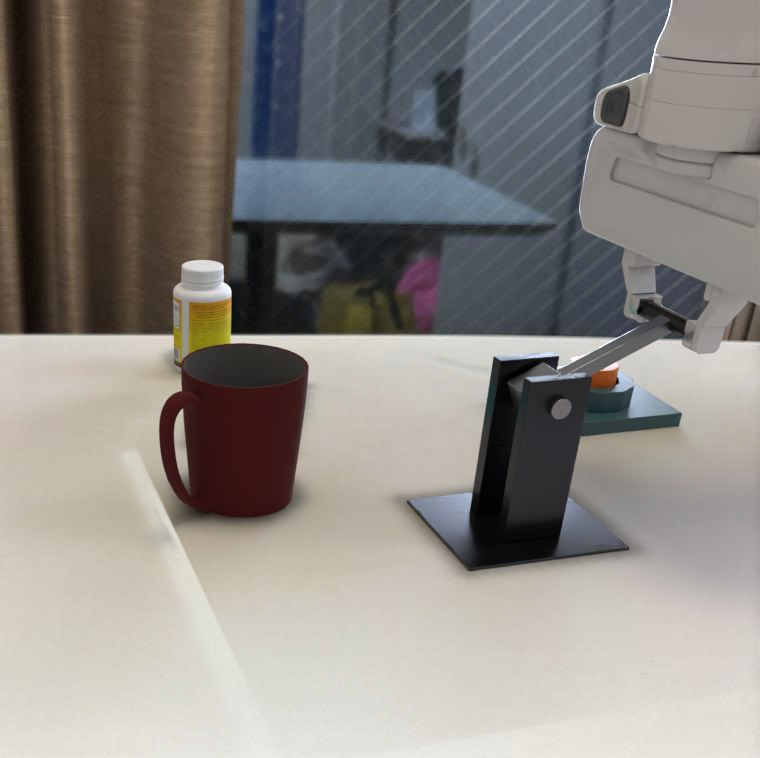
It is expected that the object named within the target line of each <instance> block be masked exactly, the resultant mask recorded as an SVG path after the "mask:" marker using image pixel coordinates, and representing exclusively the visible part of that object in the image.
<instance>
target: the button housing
mask: <svg viewBox="0 0 760 758" xmlns="http://www.w3.org/2000/svg"><path fill="white" fill-rule="evenodd" d="M566 365H567V364H563V365H560V366H558V367H557V370H558V369H560V368H562V367H564V366H566ZM682 415H683V412H681V411H679V410H677V409H676V408H675V407H673V406H672V405H670V404H668V403H666V402H665V401H663V400H661V399H660V398H658V397H656V396H655V395H653V394H651V393H650V392H648V391H647V390H644V388H641V387H640V386H638V385H637V384H635V383H634V379H633V378H632V377H630V376H628V375H627V374H625V373H624V372H622V371H620V370H618V374H617V379H616V383H615V386H614V387H608V388H594V387H591V388H590V393H589V398H588V403H587V408H586V412H585V417H584V422H583V427H582V432H581V437H587V436H598V435H606V434H607V435H608V434H616V433H617V434H618V433H627V432H637V431H646V430H656V429H666V428H674V427H680V423H681V419H682Z"/></svg>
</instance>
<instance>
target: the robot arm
mask: <svg viewBox="0 0 760 758" xmlns="http://www.w3.org/2000/svg"><path fill="white" fill-rule="evenodd" d="M664 24H665V25H664V27H663V29H662V31H661V33H660V35H659V37H658V39H657V41H656V44H655V47H654V51H653V56H652V61H651V65H650V72H645V73H641V74H639V75H637V76H635V77H632V78H630V79H627V80H625V81H621V82H619V83H615V84H613V85H610V86H607V87H605V88H602V89H601V90H600V91H599V92H598V93H597V95H596V97H595V98H596V99H595V101H594V107H593V120H594V123H596V124H597V125H598V126H602V127H600V128H598V130H597V131H596V132H595V133H594V136H593V137H592V139H591V142H590V145H589V149H588V153H587V157H586V162H585V167H584V172H583V178H582V184H581V191H580V198H579V208H578V209H579V217H580V221H581V226H582V228H583V231H585V232H586V233H588V234H591V235H593V236H595V237H598V238H600V239H603V240H605V241H608V242H610V243H612V244H615V245H616V246H619V247H622V248H624V249H623V255H622V258H621V267H622V273H623V278H624V283H625V290H626V292H627V293H626V297H625V303H624V307H623V315H624V317H626V318H628V319H630V320H633V321H635V322H637V323H639V324H644V323H646V322H648V321H649V320H647V319H645V318H643V317H642V315H641V309H642V307H643V306H644V304H646V303H647V302H650V301H653V302H655V303H657V304H659V305H661V306H662V302H663V298H664V296H663V295H661V294H659V293H657V282H656V281H657V280H656V267H659V266H661V265H664V266H666V267H668V268H671V269H673V270H676V271H677V272H681V273H683V274H685V275H687V276H690V277H692V278H694V279H697V280H699V281H701V282H704V283H706V286H705V289H704V293H703V300H704V301H706V302H708V304H707V305H706V307H705V308H704V309H703V311H702V312H701V314H700V315H699V317H698V318H697V319H690V320H688V321H686V325H685V329H684V332H685V335H684V336H683V338H682V337H681V345H682V347H684V348H686V349H689V350H690V351H692V352H694V353H696V354H697V355H706V354H715V353H716V352H717V351H718V350H719V349H720V347H721V344H722V340H723V336H724V332H725V329H726V327H727V326H728V325H730V323H732V321H733V320H734V318H735V317H737V315H738V314H739V313H740V312H741V311H742V310H743V309H744V308H745V306H746V305H747V304H748V301H749V302H751V303H753V304H755V305H757V306H760V0H670V8H669V12H668V16H667V18H666V21H665V23H664Z"/></svg>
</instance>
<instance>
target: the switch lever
mask: <svg viewBox="0 0 760 758" xmlns="http://www.w3.org/2000/svg"><path fill="white" fill-rule="evenodd" d="M641 315H642V317H643V318H645V319H647V320H649V321H648V322H644V323H642V324H641V325H639V326H637V327H635V328H633V329H632V330H630V331H628V332H626V333H624V334H622V335H621V336H618V337H617V338H615V339H613V340H611V341H608V342H606V343H605V344H603V345H601V346H600V347H598V348H595V349H594V350H592V351H590V352H589V353H586V354H584V355H585V356H583V357H581V358H579V359H577V360H575V361H573V362H571V361H570V362H569V363H568V364H565V365H566V366H564V367H562V368H560V369H558V370H555V369H553V368H551V367H550V366H548V365H547V364H545V363H541V364H539V365H537V366H535V367H534V368H532V369H530V370H528V371H526V372H524V373H522V374H520V375H519V376H517V377H515V378H513V379H511V380H509V381H508V382H507V384H508V387H509V391H510V394H511V397H512V401H513V404H514V408H515V410H516V411H517V412H518V410H519V404H520V398H521V392H522V386H523V380H524V378H527V377H538V376H550V375H561V374H572V373H586V374H588V375H589V376H591V375H593V374H595V373H597V372H599V371H600V370H602V369H604V368H606V367H608V366H610V365H612V364H614V363H615V362H617V363H618V362H619V361H621V360H623V359H625V358H627V357H628V356H630V355H632V354H634V353H636V352H638V351H640V350H641V349H643V348H645V347H647V346H649V345H651V344H653V343H655V342H657V341H659V340H660V339H662V338H664V337H666V336H668V335H669V334H671V333H672V334H674V335H677V336H678V337H680V338H681V339H682V338H683V336H684V335H685V332H684V329H685V325H686V321H688V320H691V319H690V318H689V317H686V316H684V315H682V314H680V313H678V312H676V311H673V310H672V309H669V308H668V307H665V306H663V305H662V304H661V305H659V304H657V303H655V302H653V301H650V302H647V303H646V304H644V306H643V307H642V309H641Z"/></svg>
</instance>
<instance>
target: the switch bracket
mask: <svg viewBox="0 0 760 758" xmlns="http://www.w3.org/2000/svg"><path fill="white" fill-rule="evenodd" d="M559 361H560V355H558V354H557V353H555V352H554V351H542V352H541V351H540V352H530V353H519V354H517V353H516V354H505V355H495V356H492V364H491V371H490V377H489V383H488V389H487V397H486V401H485V402H486V403H485V409H484V415H483V422H482V427H481V428H482V429H481V430H482V431H481V436H480V441H479V448H478V455H477V460H476V461H477V462H476V468H475V475H474V482H473V487H472V488H473V489H472V491H471V492H464V493H455V494H454V493H453V494H446V495H445V494H444V495H438V496H437V495H436V496H428V497H420V498H419V497H418V498H411V499H410V498H409V499H407V500H406V504H407V505H409V507H410V508H411V509H412V510H413V512H415V514H417V515H418V517H419V518H420V519H421V520H422V521H423V522H424V524H425V525H426V526H428V528H429V529H430V530H431V531H432V532H433V533H434V535H436V537H437V538H438V539H439V540H440V541H441V542H442V543H443V544H444V546H445V547H446V548H447V549H448V550H449V551H450V552H451V553H452V555H454V557H456V559H457V560H458V561H459V562H460V563H461V565H462V566H463V567H465V569H466V570H467V571H468V572H474V571H475V572H476V571H482V570H490V569H497V568H498V569H499V568H507V567H511V566H512V567H514V566H519V565H520V566H521V565H529V564H534V563H543V562H549V561H556V560H557V561H558V560H564V559H571V558H579V557H586V556H595V555H601V554H609V553H615V552H616V553H617V552H625V551H630V546H629V545H628V544H626V543H625V542H624V541H623V540H622V539H620V538H619V537H618V536H617V535H616V534H615V533H613V531H611V530H610V529H609V528H607V527H606V526H605V525H604V524H602V523H601V522H600V520H598V519H597V518H595V517H594V516H593V515H592V514H590V512H588V511H587V510H586V509H585V508H583V507H582V506H581V505H580V504H578V503H577V502H576V501H575V500H573V498H571V497H570V496H569V495H570V490H571V484H572V480H573V475H574V470H575V465H576V461H577V456H578V451H579V447H580V446H579V445H580V442H581V437H582V436H581V432H582V427H583V422H584V417H585V412H586V408H587V403H588V398H589V393H590V388H591V383H592V377H591V376H589V375H588V374H586V373H572V374H561V375H550V376H538V377H527V378H524V380H523V386H522V392H521V398H520V404H519V410H518V412H517V411H516V410H515V408H514V404H513V401H512V397H511V394H510V391H509V387H508V384H507V382H508V381H509V380H511V379H513V378H515V377H517V376H519V375H520V374H522V373H524V372H526V371H528V370H530V369H532V368H534V367H535V366H537V365H539V364H541V363H545V364H547V365H548V366H550V367H551V368H553V369H555V370H557V367H559Z"/></svg>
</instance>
